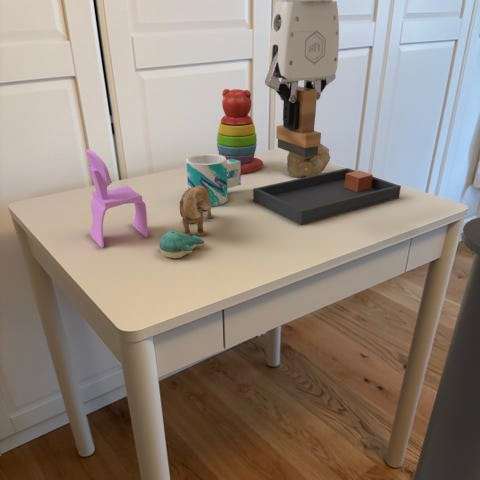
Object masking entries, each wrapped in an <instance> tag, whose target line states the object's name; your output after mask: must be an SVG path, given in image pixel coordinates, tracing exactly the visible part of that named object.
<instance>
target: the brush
mask: <svg viewBox="0 0 480 480" xmlns="http://www.w3.org/2000/svg"><path fill="white" fill-rule="evenodd" d="M316 97H317V90H315V89H310V88H305V87H304V86H299V85H298V91H297V100H296V102H298V103H299V124H298V129H297V130H292V129H289V128H285V127H284V126H283V124H281V125H276V133H275V134H276V135H275V138H276V139H277V148H278V149H281V150H284V151H287V152H288V153H289V152H292V153H294V154H297V155H300V156H303V157H310V156H316V155H318V146H320V144H321V141H322V140H321V139H322V132H321V131H320V132H319V131H317V130H315V125H314V124H316V123H315V122H316V114H315V111H316V112H317V100H316Z"/></svg>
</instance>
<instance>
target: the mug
mask: <svg viewBox="0 0 480 480" xmlns="http://www.w3.org/2000/svg"><path fill="white" fill-rule="evenodd" d="M185 163H186V176H187V190H188V189H191V188H193V187H196V186H199V185H200V186H202V187H205V188H206V189H207V192H208V195H209V203H211V205H210V207H211V208H212V207H217V206H221V205H223V204H225V203H227V202H228V201H229V200H228V189H231V188H234V187H238V186H241V185H242V177H241V175H242V174H241V165H240V161H239V160H235V159H229V160H226V157H224V156H221V155H219V154H217V153H200V154H192V155H191V156H189V157H186V158H185ZM227 172H228V174H227Z"/></svg>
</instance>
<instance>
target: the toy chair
mask: <svg viewBox="0 0 480 480" xmlns="http://www.w3.org/2000/svg"><path fill="white" fill-rule="evenodd" d="M85 153H86V156H87V160H88V163H89V165H90V166H88V170H89V173H90V176H91V179H92V182H93V186H94V189H95V191H92V192H91V194H92V198H91V200H90V207H91V217H92V220H91V221H92V222H91V229H90V234H89V236H90V237H91V238H92V239H93V240H94V241H95V243H96V244H98V246H99V247H100V248H102V249H103V248H105V244H104V219H105V215H106V212H107V211H108V210H109V209H111V208H116V207H119V206H121V205H127V204H133V206H134V219H133V223H132V227H133V228H134V229H136V230H137V231H138V232H139V233H140V234H141V235H143V236H144V237H145V238H148V237H149V229H148V215H147V214H148V212H147V205H146V203H145V201H143V196H142V194H140V193H139V192H137V191H135V190H134V189H133V188H132V187H130V186H129V185H125V186H119V187H116V188H111V189H108V187H109V186H110V185H111V184H112V183H113V181H112V179H111V176H110V173H109V170H108V167H107V165H106V163H105V162H104V160H103V159H102V158H101V157H100V156H99V155H98V154H96V152H94V151H93V150H92V149H90V148H88V149H86V150H85Z"/></svg>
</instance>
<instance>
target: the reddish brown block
mask: <svg viewBox="0 0 480 480" xmlns="http://www.w3.org/2000/svg"><path fill="white" fill-rule="evenodd" d="M373 177H374V175H373V174H371V173H369V172H366V171H363V170H355V172H350V173H346V176H345V186H344V187H345V188H347V189H350V190H353V191H355V192H360V191H364V190H368V189H371V186H372V178H373Z"/></svg>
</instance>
